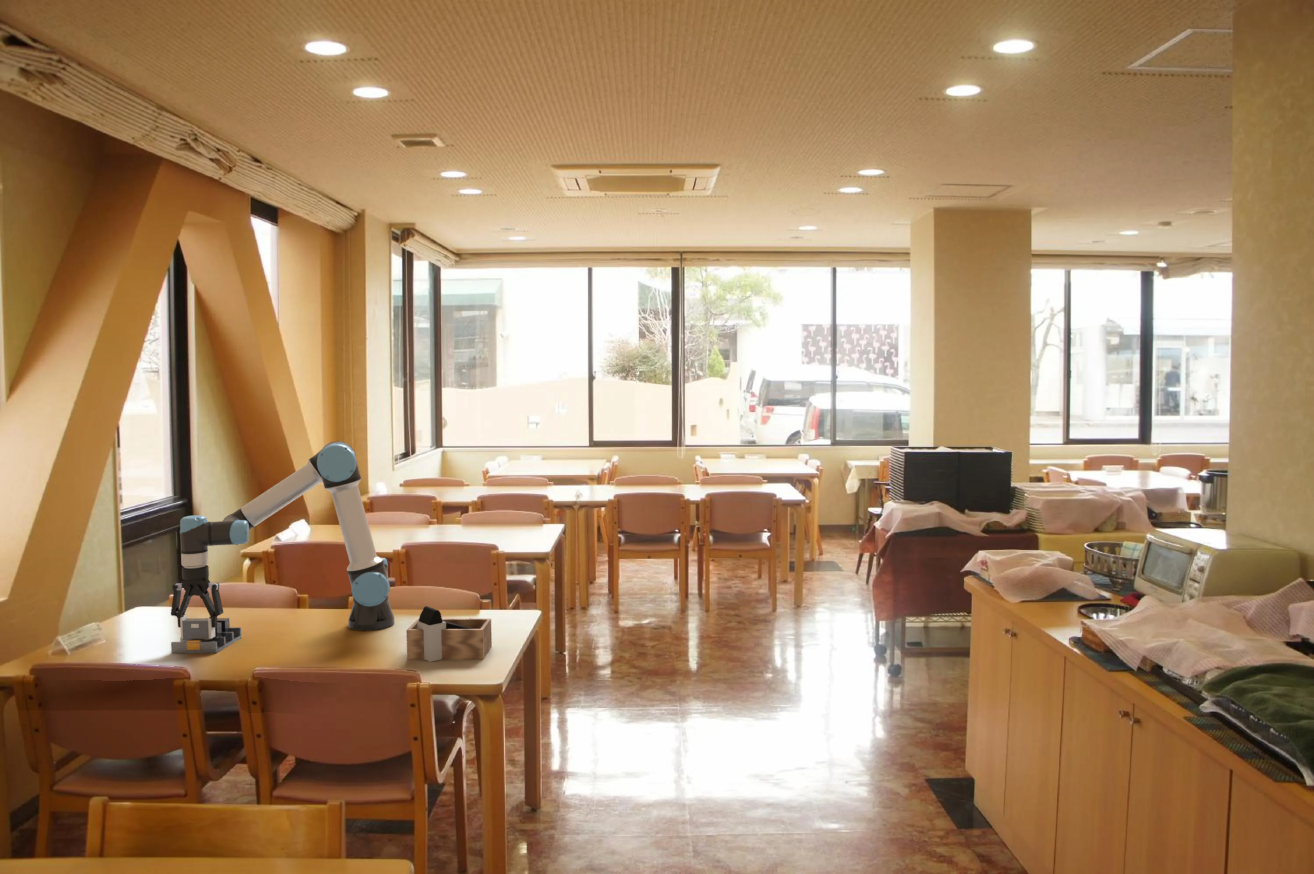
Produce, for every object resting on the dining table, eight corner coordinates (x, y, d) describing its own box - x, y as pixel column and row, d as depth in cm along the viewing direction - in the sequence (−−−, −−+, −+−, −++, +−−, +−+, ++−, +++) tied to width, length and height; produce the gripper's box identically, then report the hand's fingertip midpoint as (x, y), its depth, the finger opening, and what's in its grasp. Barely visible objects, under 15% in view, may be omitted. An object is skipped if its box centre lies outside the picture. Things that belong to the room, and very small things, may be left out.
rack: (241, 637, 313) (240, 616, 312) (215, 653, 295) (215, 631, 295) (199, 637, 313) (198, 616, 312) (171, 653, 296) (170, 631, 295)
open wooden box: (491, 646, 299) (491, 618, 299) (483, 659, 286) (482, 629, 286) (418, 646, 300) (418, 618, 299) (407, 659, 287) (406, 630, 286)
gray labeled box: (213, 637, 300) (212, 618, 299) (208, 639, 297) (207, 620, 296) (188, 637, 300) (187, 618, 300) (182, 640, 297) (181, 621, 296)
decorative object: (483, 649, 296) (481, 601, 295) (430, 661, 284) (428, 612, 283) (469, 644, 302) (468, 597, 301) (417, 655, 290) (415, 607, 289)
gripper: (233, 562, 300) (236, 634, 302) (168, 563, 301) (171, 634, 302) (222, 567, 293) (225, 640, 294) (155, 568, 293) (158, 640, 295)
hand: (198, 637), depth 298 cm, fingers closed on gray labeled box, 8 cm apart
